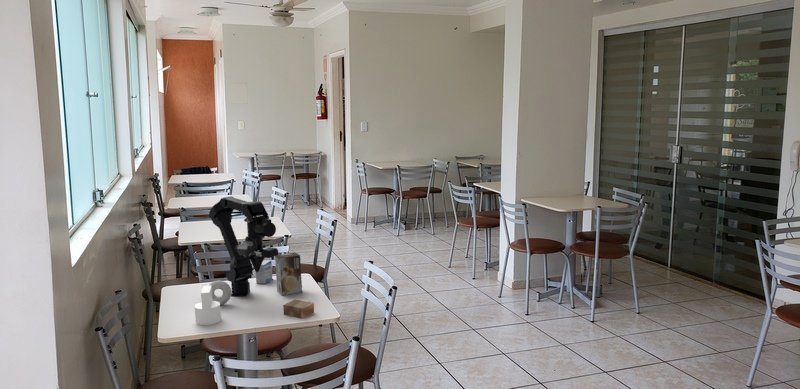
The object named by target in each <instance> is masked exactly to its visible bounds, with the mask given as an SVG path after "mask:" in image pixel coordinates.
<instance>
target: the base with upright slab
mask: <svg viewBox="0 0 800 389" xmlns="http://www.w3.org/2000/svg"><path fill="white" fill-rule="evenodd" d="M208 285H209V284H208ZM208 285H203V286H202V289H201V292H200V296H201V297H200V298H201V299H200V300H201V301H200V302H197V303H196V304H195V305H194V318H195V323H196V325H200V326H210V325H214V324H217V323H219V322H220V321H221V320H222V314H221V305H220V303H219V302H217V301H213V299H212V285H209V286H208Z"/></svg>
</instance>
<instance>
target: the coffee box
mask: <svg viewBox="0 0 800 389" xmlns="http://www.w3.org/2000/svg"><path fill="white" fill-rule="evenodd" d="M274 261H275V262H274V263H275V276H276V277H275V278H276V279H275V280H276V292H277V293H278V294H279V295H281V296H286V295H292V294H298V293H302V292H303V283H302V269H301V267H302V265H301V264H302V263H301V255H300V254H298V253H297V252H295V251H294V252H287V253H281V254H279V255H277V256H274Z"/></svg>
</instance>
